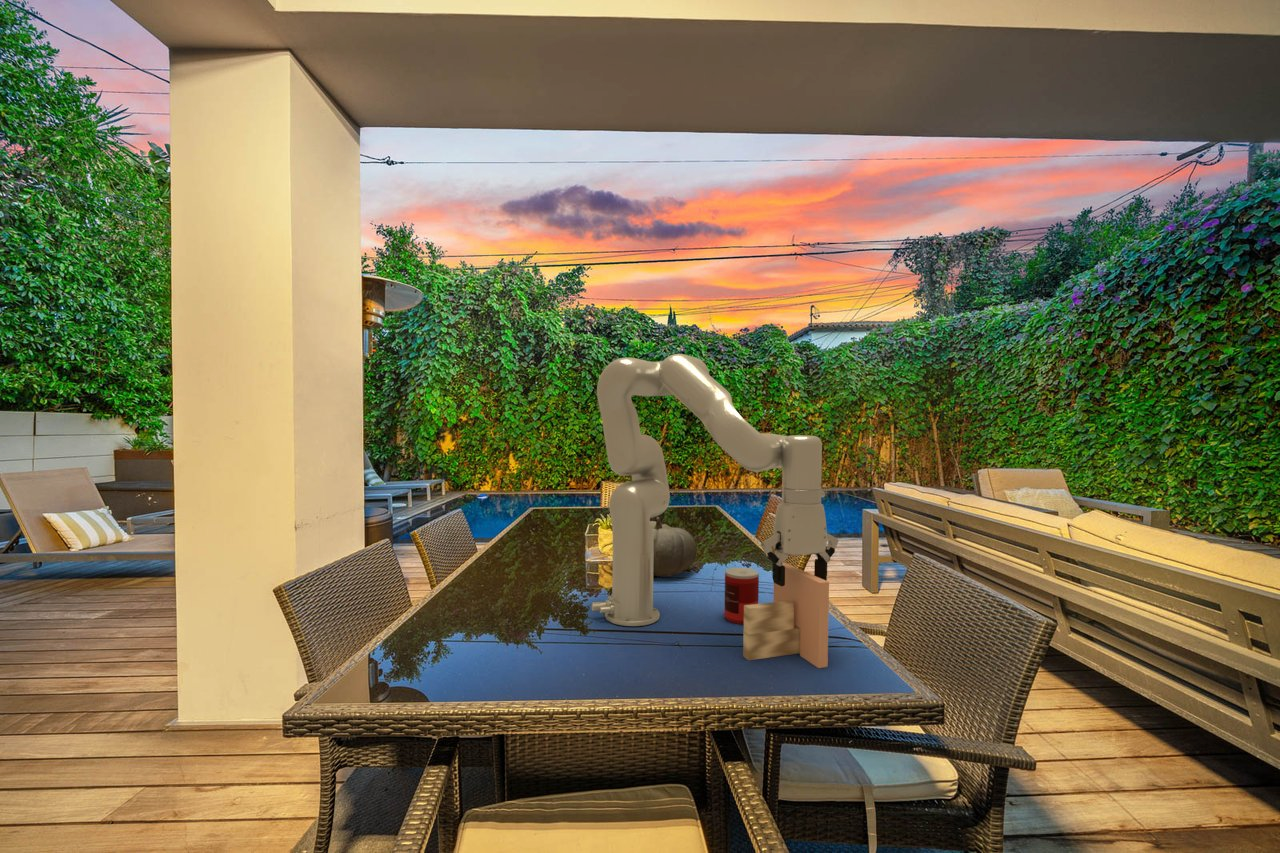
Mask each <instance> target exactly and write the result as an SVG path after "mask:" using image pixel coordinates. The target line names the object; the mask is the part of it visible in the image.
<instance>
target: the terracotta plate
mask: <svg viewBox="0 0 1280 853" xmlns="http://www.w3.org/2000/svg"><path fill="white" fill-rule="evenodd" d="M782 565H783V566H785V585H784V586H779V585H777V584H775V583H774V582H773V596H772V597H773V600H772V602H781V601H790V602H792V603H793V604H794V625H795V626H797V627H799V628H800V653H799V656H800V657H801V658H803V659H804V660H806V661H807V662H808V663H810V664H811V665H812V666H815V667H816V668H817V669H823V668H828V667H829V666H828V663H829V658H828V656H829V653H828V652H829V617H830V616H829V614H830V613H829V606H830V605H829V603H830V600H829V599H830V582H829V581H828V580H827V581H826V580H823V579H821V578H819V577H816V576H814V574H811V573H810V572H808V571H805V570H802V569H800V568H799V567H798V568H797V567H796V566H793V565H791V564H789V563H788V562H786V561H784V563H783V564H782Z"/></svg>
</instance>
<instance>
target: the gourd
mask: <svg viewBox="0 0 1280 853" xmlns="http://www.w3.org/2000/svg"><path fill="white" fill-rule="evenodd" d="M650 524H651V528H652V532H653V541H654V559H653V576H655V577H662V578H663V577H665V578H666V577H670V576H676V575H678V574H680V573H682V572H685V571H686V570H688V569H689V568H690V567H691V566H692V565H693V564H694V562H695V561H696V558H697V556H698V555H697V554H698V553H697V552H698V546H697V543H696V541H695V539H694V537H693V535H692V534H691V533H690V532H689V531H687V530H686V529H684V528H680V527H671V526H670V525H668V524H666V523H662V521H661V519H660V517H659V516H656V519H655V521H654V520H650Z"/></svg>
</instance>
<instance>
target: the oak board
mask: <svg viewBox="0 0 1280 853" xmlns="http://www.w3.org/2000/svg"><path fill="white" fill-rule="evenodd" d="M742 642H743V644H742V645H743V648H742V649H743V650H742V656H743V658H744V659H745V660H747V661H755V660H761V659H762V660H763V659H768V658H777V657H782V656H789V655H796V654H800V628H799V627H797V626H795V625H794V604H793V603H792V602H790V601H781V602H773V601H772V602H763V603H758V604H752V605H744V624H743V641H742Z"/></svg>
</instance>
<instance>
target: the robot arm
mask: <svg viewBox="0 0 1280 853" xmlns="http://www.w3.org/2000/svg"><path fill="white" fill-rule="evenodd" d="M598 378H599V379H598V381H597V384H596V385H597V386H596V387H597V388H596V395H597V397H596V398H597V403H598V408H599V411H600V417H601V421H602V428H603V429H602V430H603V435H604V442H605V448H606V456H607V459H608V460H607V461H608V464H609V467H610V470H612V472H614V473H615V474H616V475H619V476H624V477H625V476H631V481H626V482H623V483H622V484H619V485H618V486H617V487H616V488H614V490H613V491H612V493H611V495H610V498H609V503H608V504H609V505H608V507H609V514H610V521H611V528H612V574H611V575H612V579H611V580H612V585H611V589H612V591H611V592H612V593H611V595H609V596H608V599H606V600H604V601H601V602H600V601H596V602H595V601H594V602H591V611H592V612H598V611H599V613H600V614H604V616H605V619H606V621H608V622H609V623H612V624H614V625H619V626H625V627H640V626H641V627H642V626H648V625H652V624H654V623H656V622H657V621H658V620H659V619H660V611H659V610H658V608H656V607H654V575H653V559H654V541H653V532H652V528H651V524H650V521H651V519H653V518H655V517H656V518H657V517H659V516H660V515H662V514H663V513H664V512H665V511H666V510H667V508H668V507H669V505H670V499H671V497H670V496H671V494H670V485H669V478H668V474H667V468H666V462H665V457H664V452H663V449H662V447H661V445H660V443H659V442H658V441H657V440H656V439H655V437H654V438H653V437H652V436H650V435H647V434H642V432H641V427H640V420H639V414H638V412H637V409H636V407H635V404H634V403H633V401H632V396H639V397H664V396H674V397H675V398H676V399H677V400H678V401H680V402H681V403H682V404H683V405H684V407H686V408H687V409H688V410H689V411H690V412H691V413H693V415H695V416H696V417H697V418H698V419H699V420H700V422H702V423H703V426H704V427H705V429H706V431H707V432H708V433H709V435H710V436H711V437H712V439H713V440H714V442H715V443H716V444H717V445H718V446H719V447H720V448H721V449H722V450H723V451H724V452H725V453H726V454H727V455H728V456H730V458H732V459H733V460H734V461H735V462H736V463H737V464H738V465H740V466H741V467H742V468H744V469H745V470H747V471H749V472H750V471H751V472H754V473H755V472H756V473H759V472H763V471H769V470H773V469H782V475H781V481H782V482H781V483H782V484H781V502H778V503H777V507H776V511H775V516H774V522H773V528H772V529H773V532H772V535H771V536H770V537H768V538H767V539H765V540H763V541H762V542H761V543H760V546H761V549H762V550H763V553H764V556H765V557H766V558H767V560H769V562H770V563H771V564H772V581H773V584H774V583H775V584H777V585H779V586H784V585H785V566H783V565H782V564H783V563H784V562H786V560H787V559H788V557H789V556H790V557H791V556H793V557H794V556H805V555H806V556H808V555H810V556H811V555H815V557H816V558H815V559H814V573H813V575H814V576H816V577H819V578H821V579H823V580H826V581H828V580H827V579H828V578H827V577H828V563H830V562H831V557H832V556H833V555H834V554H835V552H836V550H835V549H836V548H837V546H838V544H839V542H840V541H839V538H837V537H835V536H834V535H832V534H830V533H829V532H828V531H827V530H828V529H827V519H826V518H827V517H826V512H825V507H824V503H823V504H822V498H824V497H826V492H825V490H822V464H823V461H822V460H823V455H822V454H823V443H822V441H821V438H819V436H816V435H808V434H807V435H804V434H802V435H801V434H798V435H797V434H796V435H794V434H793V435H791V434H790V435H783V434H777V433H769V432H767V433H762V432H759V431H758V430H757V429H755V427H754V426H752V425H751V424H750V423H749V422H748V421H747V420H746V419H745V418H743V416H742V415H741V414H740V413H739V412H738V410H737V409H736V408H735V406H734V404H733V397H732V395H731V393H730V392H729V391H728V390H727V389H726V388H725V387H724V386H723V385H721V384H720V382H718V381H717V380H716V379H714V377H712V376H711V375H710V371H709V368H708V366H707V365H706V363H705V362H704V361H702V359H700V358H698V357H694V356H691V355H687V354H683V353H674V354H671V355H668V356H667V357H666V358H664V359H663V360H662V361H649V360H644V359H641V358H635V357H620V358H617V359H615V360H613V361H611V362H609V363H608V365H606V366H605V367H604V369H603V370H602V372H601V374H600V375H599V377H598ZM773 550H774V552H773Z"/></svg>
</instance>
